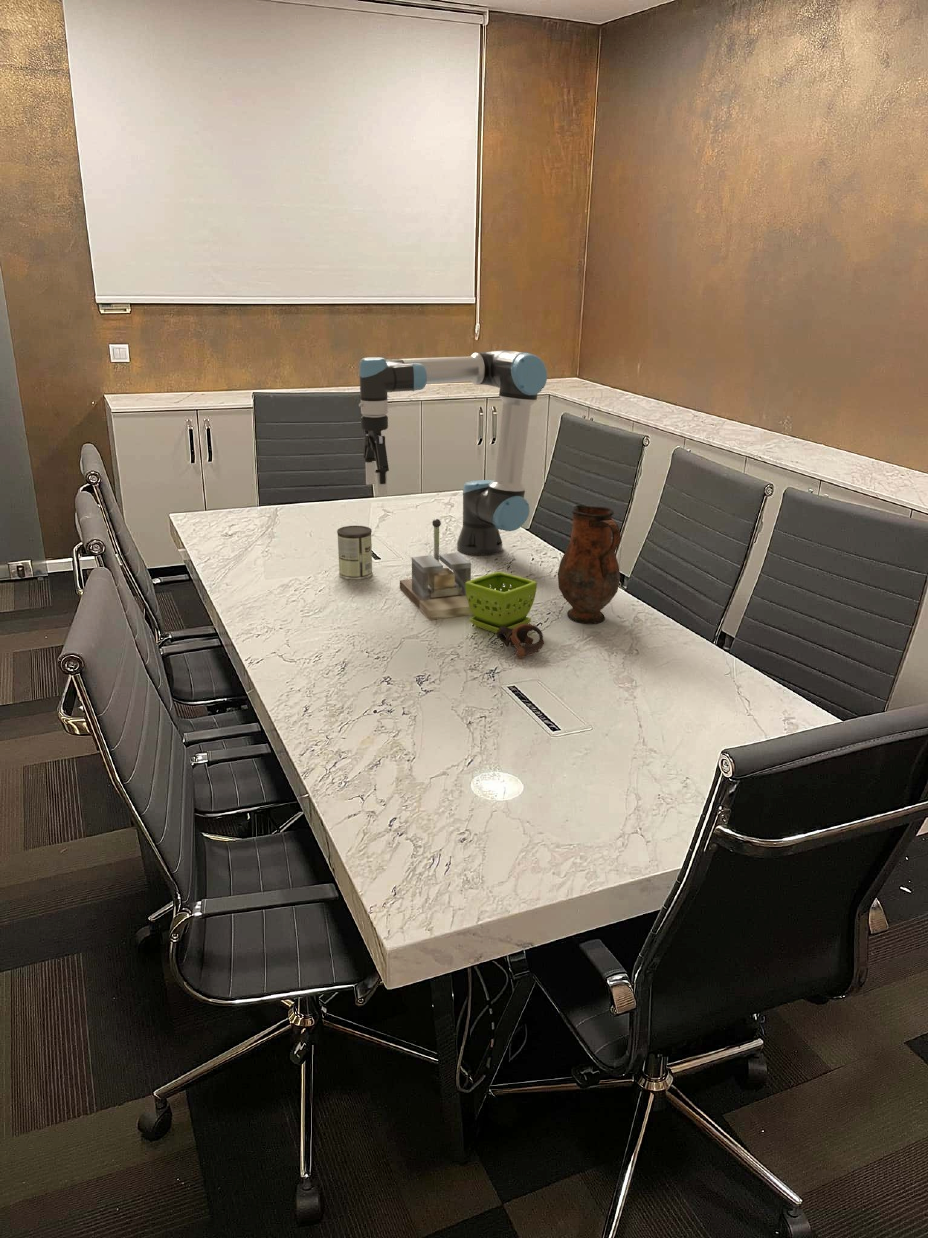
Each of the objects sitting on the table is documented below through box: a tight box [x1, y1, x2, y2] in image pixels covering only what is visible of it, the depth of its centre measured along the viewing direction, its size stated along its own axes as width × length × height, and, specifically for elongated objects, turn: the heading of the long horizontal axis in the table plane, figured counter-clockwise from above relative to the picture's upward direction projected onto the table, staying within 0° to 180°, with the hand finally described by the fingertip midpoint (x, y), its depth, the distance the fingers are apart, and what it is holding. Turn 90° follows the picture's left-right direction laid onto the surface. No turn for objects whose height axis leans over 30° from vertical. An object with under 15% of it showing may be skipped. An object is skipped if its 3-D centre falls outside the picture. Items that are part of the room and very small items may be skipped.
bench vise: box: [399, 552, 474, 621], centre depth 260 cm, size 16×27×12 cm, turn 21°
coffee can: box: [336, 525, 373, 581], centre depth 280 cm, size 10×10×14 cm
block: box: [428, 567, 455, 589], centre depth 260 cm, size 6×6×6 cm
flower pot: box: [465, 571, 538, 634], centre depth 242 cm, size 14×14×13 cm
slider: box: [428, 518, 462, 598], centre depth 258 cm, size 9×10×20 cm
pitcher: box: [557, 504, 621, 625], centre depth 245 cm, size 17×21×30 cm
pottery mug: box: [496, 623, 545, 660], centre depth 228 cm, size 12×10×8 cm
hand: (376, 489), depth 267 cm, fingers open, 13 cm apart
